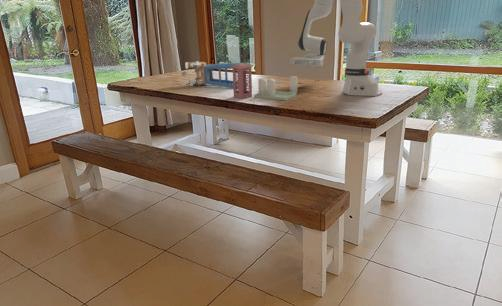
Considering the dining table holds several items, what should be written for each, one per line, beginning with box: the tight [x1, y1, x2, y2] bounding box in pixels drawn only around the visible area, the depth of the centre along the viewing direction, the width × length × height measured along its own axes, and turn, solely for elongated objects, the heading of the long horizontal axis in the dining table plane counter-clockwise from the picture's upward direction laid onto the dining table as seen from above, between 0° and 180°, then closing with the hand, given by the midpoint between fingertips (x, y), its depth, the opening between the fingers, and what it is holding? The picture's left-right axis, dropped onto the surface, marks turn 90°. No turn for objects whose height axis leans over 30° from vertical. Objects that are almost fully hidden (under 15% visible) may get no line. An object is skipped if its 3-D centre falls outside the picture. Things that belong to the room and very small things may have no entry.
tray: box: [253, 90, 297, 101], centre depth 222 cm, size 20×14×2 cm
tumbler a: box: [266, 78, 276, 96], centre depth 219 cm, size 5×5×10 cm
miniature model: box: [231, 62, 253, 100], centre depth 221 cm, size 9×9×20 cm
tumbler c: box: [289, 75, 298, 94], centre depth 230 cm, size 5×5×10 cm
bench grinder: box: [181, 60, 248, 90], centre depth 265 cm, size 17×17×45 cm
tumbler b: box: [257, 78, 267, 96], centre depth 222 cm, size 5×5×10 cm
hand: (301, 63), depth 235 cm, fingers open, 8 cm apart
